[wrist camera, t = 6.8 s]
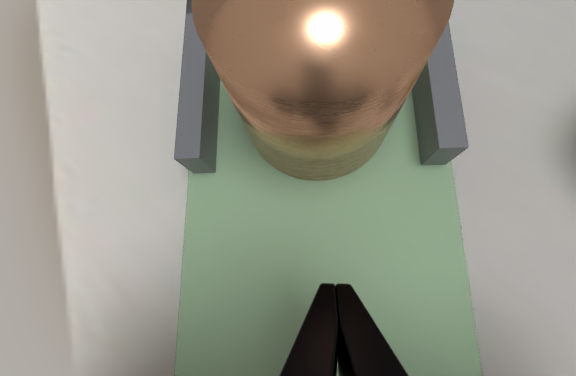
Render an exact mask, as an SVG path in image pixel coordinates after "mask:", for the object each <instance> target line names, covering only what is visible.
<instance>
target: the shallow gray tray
mask: <svg viewBox="0 0 576 376" xmlns="http://www.w3.org/2000/svg"><path fill="white" fill-rule="evenodd" d="M191 3H192V0H187V7H186V19H185V31H184V43H183V55H182V67H181V79H180V92H179V104H178V116H177V128H176V140H175V152H174V159H175V160H176V161H178V162H179V163H180V164H182V165H183V166H184V167H186V168H187V169H188V170H190V171H191V172H192V173H194V174H196V173H216V157H217V136H218V115H219V94H220V77H219V75H218V73H217V71H216V70H215V68H214V66H213V64H212V62H211V60H210V58H209V56H208V54H207V52H206V50H205V48H204V46H203V44H202V42H201V40H200V38H199V36H198V34H197V31H196V28H195V24H194V21H193V15H192V7H191ZM412 95H413V103H414V112H415V120H416V129H417V137H418V145H419V154H420V162H421V165H446V164H447V163H448V162H450V161H451V160H452V159H454V158H455V157H456V156H458V155H459V154H460V153H462V152H463V151H464V150H465V149H467V148H468V147H469V146H468V140H467V134H466V128H465V121H464V115H463V109H462V103H461V97H460V90H459V84H458V78H457V72H456V65H455V59H454V53H453V47H452V40H451V34H450V28H449V22H448V23H447V25H446V27H445V29H444V32H443V34H442V36H441V37H440V39H439V41H438V43H437V45H436V46H435V48H434V50H433V52H432V54H431V55H430V57H429V59H428V61H427V63H426V65H425V66H424V68H423V70H422V72H421V74H420V75H419V77H418V79H417V81H416V83H415V84H414V86H413V88H412Z"/></svg>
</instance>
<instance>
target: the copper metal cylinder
mask: <svg viewBox="0 0 576 376" xmlns="http://www.w3.org/2000/svg"><path fill="white" fill-rule="evenodd" d="M453 3H454V0H192V3H191V7H192V15H193V21H194V24H195V28H196V31H197V34H198V36H199V38H200V40H201V42H202V44H203V46H204V48H205V50H206V52H207V54H208V56H209V58H210V60H211V62H212V64H213V66H214V68H215V70H216V71H217V73H218V75H219V77H220V79H221V81H222V83H223V85H224V87H225V89H226V91H227V93H228V95H229V97H230V99H231V101H232V102H233V104H234V106H235V108H236V110H237V112H238V114H239V116H240V118H241V120H242V122H243V124H244V126H245V128H246V130H247V132H248V133H249V135H250V137H251V139H252V141H253V143H254V145H255V147H256V149H257V150H258V152H259V153H260V155H261V156H262V157H263V158H264V159H265V160H266V161H267V162H268V163H269V164H270V165H271V166H273V167H274V168H275V169H277V170H279V171H280V172H282V173H284V174H286V175H288V176H291V177H294V178H297V179H302V180H308V181H326V180H332V179H337V178H340V177H343V176H346V175H348V174H350V173H352V172H354V171H356V170H357V169H359V168H360V167H362V166H363V165H364V164H365V163H367V162H368V161H369V160H370V159H371V158H372V157H373V156H374V154H375V153H376V152H377V150H378V149H379V147H380V146H381V144H382V142H383V140H384V139H385V137H386V135H387V133H388V131H389V130H390V128H391V126H392V124H393V122H394V121H395V119H396V117H397V115H398V113H399V112H400V110H401V108H402V106H403V104H404V103H405V101H406V99H407V97H408V95H409V93H410V92H411V90H412V88H413V86H414V84H415V83H416V81H417V79H418V77H419V75H420V74H421V72H422V70H423V68H424V66H425V65H426V63H427V61H428V59H429V57H430V55H431V54H432V52H433V50H434V48H435V46H436V45H437V43H438V41H439V39H440V37H441V36H442V34H443V32H444V29H445V27H446V25H447V23H448V21H449V18H450V15H451V11H452V8H453Z"/></svg>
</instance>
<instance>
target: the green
mask: <svg viewBox="0 0 576 376" xmlns="http://www.w3.org/2000/svg"><path fill="white" fill-rule="evenodd" d="M321 283H334V284H335V286H336V284H338V283H348V284H351V285H352V287H353V288H354V290H355V292H356V293H357V295H358V296H359V298H360V299H361V301H362V303H363V304H364V306H365V307H366V309H367V310H368V312H369V314H370V315H371V317H372V318H373V320H374V322H375V323H376V325H377V326H378V328H379V329H380V331H381V333H382V334H383V336H384V337H385V339H386V341H387V342H388V344H389V345H390V347H391V348H392V350H393V352H394V353H395V355H396V356H397V358H398V359H399V361H400V363H401V364H402V366H403V367H404V369H405V371H406V372H407V374H408V375H409V376H482V370H481V363H480V356H479V349H478V342H477V336H476V329H475V322H474V315H473V308H472V301H471V294H470V287H469V280H468V273H467V266H466V259H465V252H464V246H463V239H462V232H461V225H460V218H459V211H458V204H457V197H456V190H455V183H454V176H453V169H452V162H451V161H450V162H448V163H447V164H446V165H421V162H420V154H419V145H418V137H417V129H416V120H415V112H414V103H413V95H412V90H411V92H410V93H409V95H408V97H407V99H406V101H405V103H404V104H403V106H402V108H401V110H400V112H399V113H398V115H397V117H396V119H395V121H394V122H393V124H392V126H391V128H390V130H389V131H388V133H387V135H386V137H385V139H384V140H383V142H382V144H381V146H380V147H379V149H378V150H377V152H376V153H375V154H374V156H373V157H372V158H371V159H370V160H369V161H368V162H367V163H365V164H364V165H363V166H362V167H360V168H359V169H357V170H356V171H354V172H352V173H350V174H348V175H346V176H343V177H340V178H337V179H332V180H326V181H308V180H302V179H297V178H294V177H291V176H288V175H286V174H284V173H282V172H280V171H279V170H277V169H275V168H274V167H273V166H271V165H270V164H269V163H268V162H267V161H266V160H265V159H264V158H263V157H262V156H261V155H260V153H259V152H258V150H257V149H256V147H255V145H254V143H253V141H252V139H251V137H250V135H249V133H248V132H247V130H246V128H245V126H244V124H243V122H242V120H241V118H240V116H239V114H238V112H237V110H236V108H235V106H234V104H233V102H232V101H231V99H230V97H229V95H228V93H227V91H226V89H225V87H224V85H223V83H222V81H221V79H220V94H219V115H218V136H217V157H216V173H196V174H194V173H192V172H191V171H190V170H189V173H188V188H187V202H186V216H185V231H184V245H183V259H182V274H181V288H180V302H179V317H178V331H177V346H176V360H175V374H174V376H279V375H280V373H281V371H282V368H283V366H284V364H285V362H286V359H287V357H288V355H289V353H290V350H291V348H292V346H293V344H294V341H295V339H296V337H297V335H298V332H299V330H300V328H301V326H302V323H303V321H304V319H305V317H306V314H307V312H308V310H309V308H310V305H311V303H312V301H313V299H314V296H315V294H316V292H317V290H318V288H319V285H320V284H321ZM337 376H339V372H338V362H337Z"/></svg>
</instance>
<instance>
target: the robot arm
mask: <svg viewBox="0 0 576 376" xmlns="http://www.w3.org/2000/svg"><path fill="white" fill-rule="evenodd" d="M337 362H338V372H339V376H409V375H408V374H407V372H406V371H405V369H404V367H403V366H402V364H401V363H400V361H399V359H398V358H397V356H396V355H395V353H394V352H393V350H392V348H391V347H390V345H389V344H388V342H387V341H386V339H385V337H384V336H383V334H382V333H381V331H380V329H379V328H378V326H377V325H376V323H375V322H374V320H373V318H372V317H371V315H370V314H369V312H368V310H367V309H366V307H365V306H364V304H363V303H362V301H361V299H360V298H359V296H358V295H357V293H356V292H355V290H354V288H353V287H352V285H351V284H348V283H338V284H336V286H335V284H334V283H321V284H320V285H319V288H318V290H317V292H316V294H315V296H314V299H313V301H312V303H311V305H310V308H309V310H308V312H307V314H306V317H305V319H304V321H303V323H302V326H301V328H300V330H299V332H298V335H297V337H296V339H295V341H294V344H293V346H292V348H291V350H290V353H289V355H288V357H287V359H286V362H285V364H284V366H283V368H282V371H281V373H280V375H279V376H337Z"/></svg>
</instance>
